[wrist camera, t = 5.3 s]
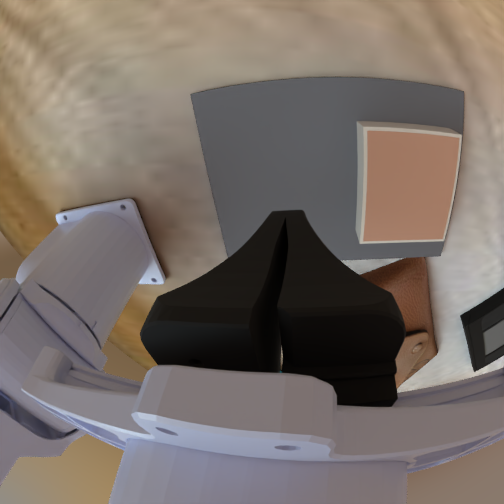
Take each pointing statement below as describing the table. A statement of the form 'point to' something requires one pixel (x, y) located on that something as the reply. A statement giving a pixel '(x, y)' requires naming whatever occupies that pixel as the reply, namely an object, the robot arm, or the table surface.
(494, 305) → the vhs tape
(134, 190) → the table surface
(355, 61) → the table surface
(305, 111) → the mat
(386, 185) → the tile
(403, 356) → the sunglasses case
